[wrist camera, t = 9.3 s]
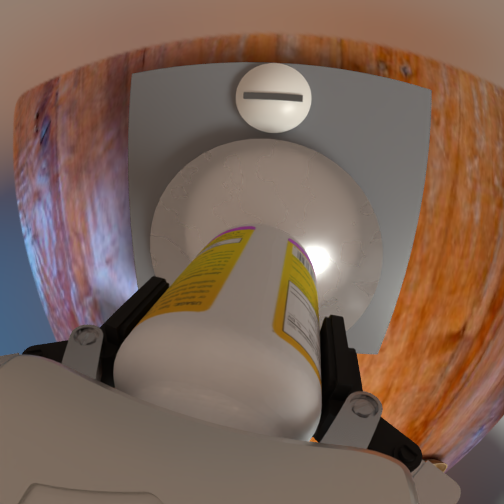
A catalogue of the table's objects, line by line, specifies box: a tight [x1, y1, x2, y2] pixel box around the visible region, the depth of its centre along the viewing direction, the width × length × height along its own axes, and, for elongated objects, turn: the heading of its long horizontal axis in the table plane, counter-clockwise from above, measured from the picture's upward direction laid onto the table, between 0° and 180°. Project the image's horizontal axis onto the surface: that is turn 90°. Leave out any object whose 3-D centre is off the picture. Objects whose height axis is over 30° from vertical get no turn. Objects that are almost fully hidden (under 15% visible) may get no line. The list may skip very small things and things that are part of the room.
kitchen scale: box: [128, 62, 431, 354], centre depth 20 cm, size 20×20×6 cm
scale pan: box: [150, 139, 383, 331], centre depth 18 cm, size 15×15×1 cm
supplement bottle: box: [113, 224, 322, 441], centre depth 10 cm, size 7×7×13 cm
